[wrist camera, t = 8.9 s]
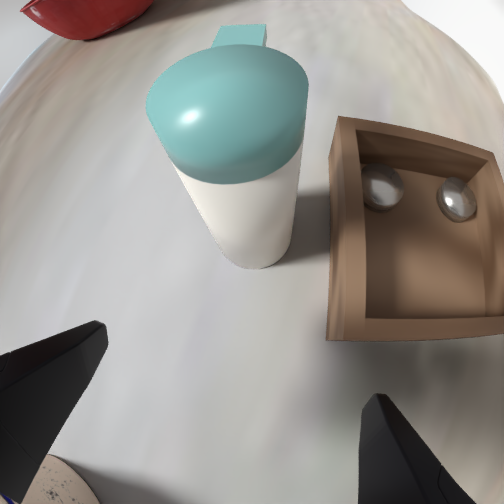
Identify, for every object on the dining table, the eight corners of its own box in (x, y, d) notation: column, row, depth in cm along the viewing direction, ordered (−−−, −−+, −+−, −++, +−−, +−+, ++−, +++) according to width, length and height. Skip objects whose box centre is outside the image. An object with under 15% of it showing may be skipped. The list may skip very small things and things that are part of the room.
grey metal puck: (405, 202, 17) (412, 194, 16) (371, 220, 17) (377, 212, 16) (380, 166, 18) (385, 157, 17) (346, 181, 18) (349, 171, 17)
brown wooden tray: (485, 336, 15) (525, 330, 10) (325, 340, 16) (342, 339, 12) (467, 180, 18) (493, 152, 14) (328, 157, 20) (338, 115, 16)
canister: (288, 272, 18) (310, 145, 6) (212, 266, 18) (123, 147, 7) (294, 179, 20) (304, 25, 8) (227, 176, 20) (185, 29, 9)
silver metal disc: (474, 213, 17) (482, 207, 15) (451, 229, 16) (460, 222, 15) (452, 179, 18) (459, 172, 16) (428, 192, 17) (436, 184, 16)
